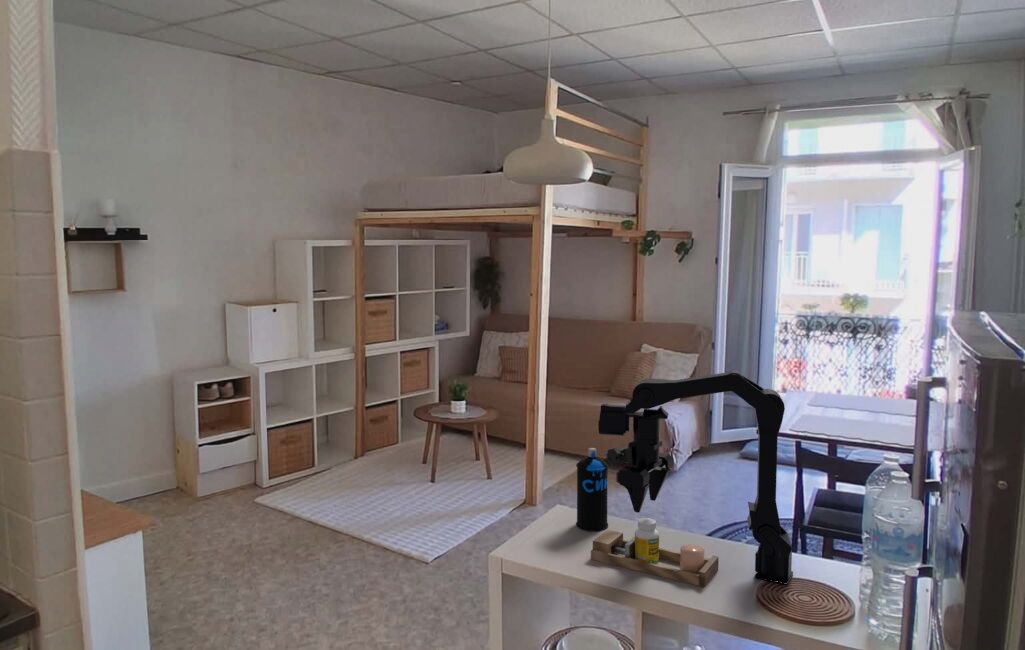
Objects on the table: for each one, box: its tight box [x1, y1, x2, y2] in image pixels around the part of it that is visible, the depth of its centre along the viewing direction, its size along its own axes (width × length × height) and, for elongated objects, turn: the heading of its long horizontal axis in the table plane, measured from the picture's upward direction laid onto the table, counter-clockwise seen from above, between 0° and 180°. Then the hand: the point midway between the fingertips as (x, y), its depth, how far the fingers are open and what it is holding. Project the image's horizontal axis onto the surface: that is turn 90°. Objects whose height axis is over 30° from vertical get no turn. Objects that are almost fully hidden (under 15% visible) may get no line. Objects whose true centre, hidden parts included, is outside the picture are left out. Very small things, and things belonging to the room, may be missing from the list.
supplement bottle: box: [634, 517, 660, 565], centre depth 154 cm, size 5×5×10 cm
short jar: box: [679, 544, 705, 574], centre depth 149 cm, size 5×5×6 cm
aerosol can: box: [575, 447, 610, 532], centre depth 177 cm, size 8×8×20 cm
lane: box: [590, 529, 719, 588], centre depth 154 cm, size 26×10×4 cm, turn 57°
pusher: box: [611, 536, 635, 559], centre depth 158 cm, size 7×7×4 cm
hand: (645, 506), depth 154 cm, fingers open, 9 cm apart
